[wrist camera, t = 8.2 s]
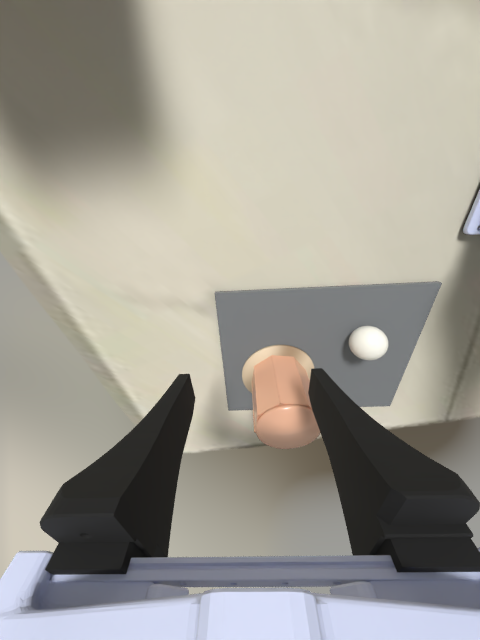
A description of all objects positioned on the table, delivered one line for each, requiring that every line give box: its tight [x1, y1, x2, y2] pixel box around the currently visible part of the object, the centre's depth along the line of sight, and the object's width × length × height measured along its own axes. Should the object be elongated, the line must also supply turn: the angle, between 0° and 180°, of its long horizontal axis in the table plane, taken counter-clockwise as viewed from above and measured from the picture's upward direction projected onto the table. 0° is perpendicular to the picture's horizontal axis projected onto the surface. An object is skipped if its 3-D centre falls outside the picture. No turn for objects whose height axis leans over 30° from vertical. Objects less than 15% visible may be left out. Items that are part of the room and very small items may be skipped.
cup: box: [252, 355, 320, 449], centre depth 22 cm, size 6×6×6 cm
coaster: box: [242, 345, 314, 393], centre depth 25 cm, size 8×8×1 cm
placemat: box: [215, 282, 442, 410], centre depth 24 cm, size 20×16×1 cm
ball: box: [349, 326, 388, 360], centre depth 21 cm, size 3×3×3 cm
